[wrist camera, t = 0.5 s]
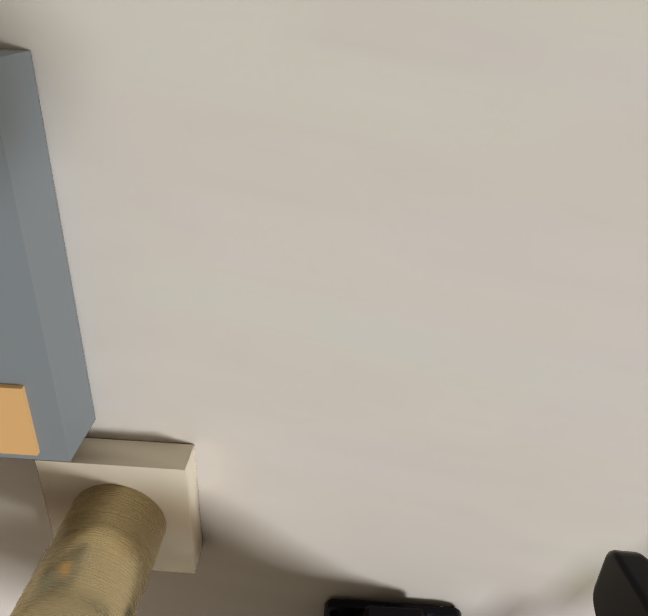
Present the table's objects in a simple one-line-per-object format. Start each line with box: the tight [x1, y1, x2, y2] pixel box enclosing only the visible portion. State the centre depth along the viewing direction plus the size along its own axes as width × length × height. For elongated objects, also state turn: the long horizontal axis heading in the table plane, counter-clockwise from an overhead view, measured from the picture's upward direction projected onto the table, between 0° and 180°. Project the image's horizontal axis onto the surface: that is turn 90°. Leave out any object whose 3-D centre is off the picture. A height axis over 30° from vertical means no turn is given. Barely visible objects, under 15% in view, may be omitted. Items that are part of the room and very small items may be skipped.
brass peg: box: [10, 484, 167, 616], centre depth 22 cm, size 4×4×8 cm
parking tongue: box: [35, 438, 203, 574], centre depth 26 cm, size 6×6×2 cm
